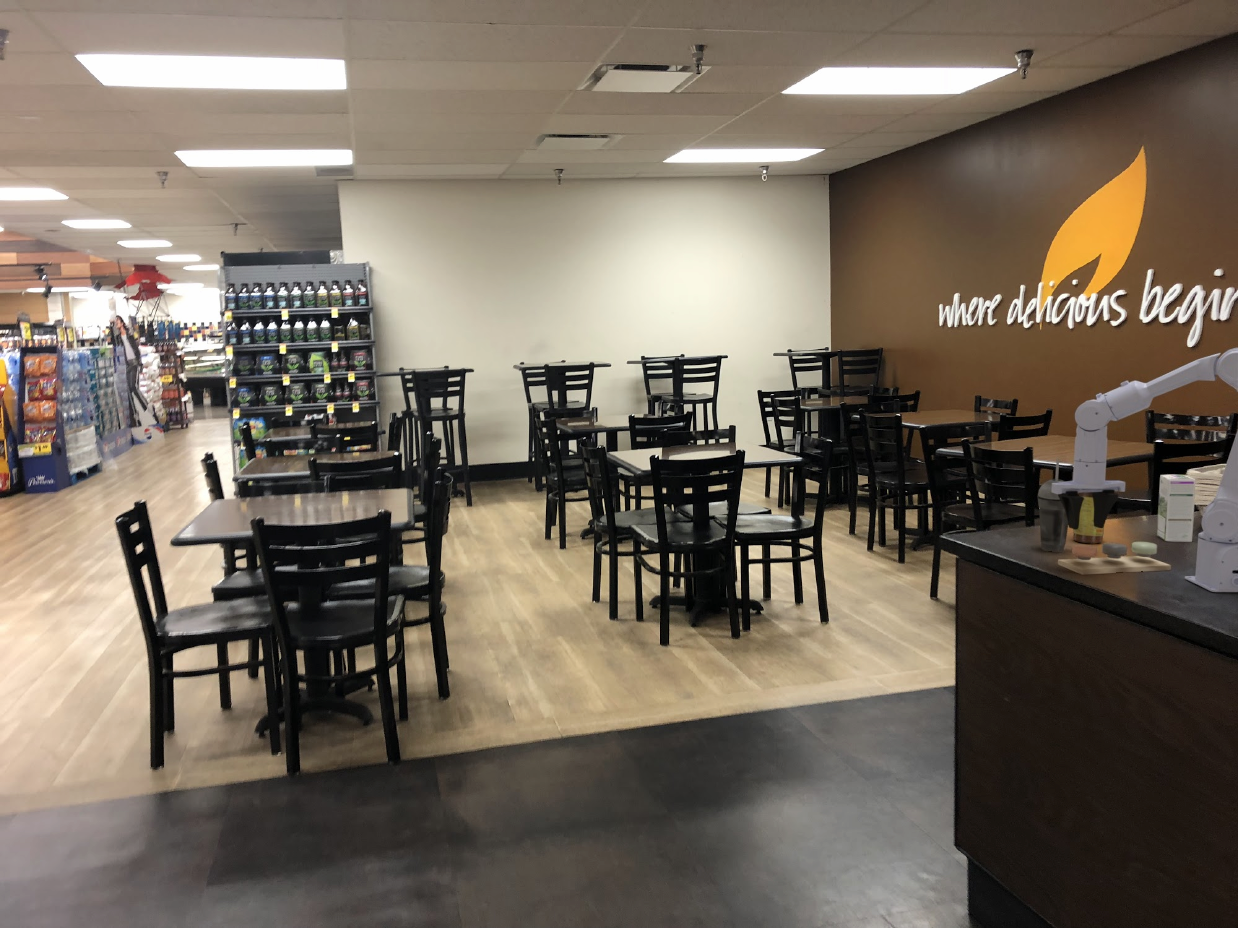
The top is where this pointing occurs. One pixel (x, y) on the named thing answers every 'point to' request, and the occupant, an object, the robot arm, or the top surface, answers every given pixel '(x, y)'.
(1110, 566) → the button board
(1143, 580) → the top surface
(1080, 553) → the terracotta button
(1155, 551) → the sage button
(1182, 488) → the syrup box
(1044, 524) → the beverage cup
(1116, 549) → the charcoal button
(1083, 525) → the sauce bottle
